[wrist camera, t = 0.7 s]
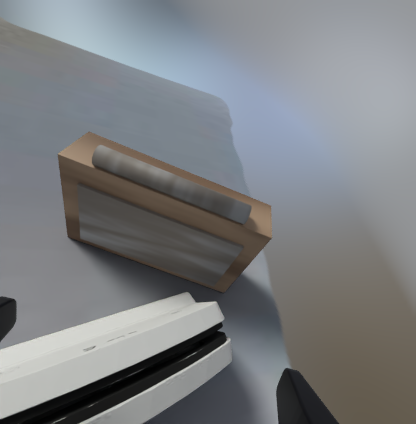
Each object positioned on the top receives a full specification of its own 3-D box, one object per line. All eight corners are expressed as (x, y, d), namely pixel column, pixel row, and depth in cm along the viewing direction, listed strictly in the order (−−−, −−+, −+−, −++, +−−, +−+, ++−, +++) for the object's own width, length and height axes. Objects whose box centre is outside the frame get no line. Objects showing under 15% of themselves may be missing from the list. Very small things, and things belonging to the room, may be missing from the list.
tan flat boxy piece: (223, 295, 25) (281, 229, 17) (65, 239, 23) (52, 138, 16) (228, 262, 28) (279, 194, 20) (89, 210, 26) (88, 115, 19)
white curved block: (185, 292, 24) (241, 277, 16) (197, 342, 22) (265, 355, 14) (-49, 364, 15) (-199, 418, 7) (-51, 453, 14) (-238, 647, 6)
